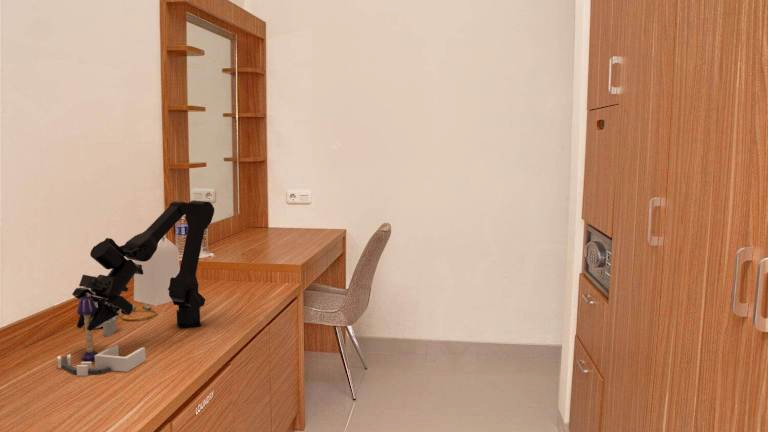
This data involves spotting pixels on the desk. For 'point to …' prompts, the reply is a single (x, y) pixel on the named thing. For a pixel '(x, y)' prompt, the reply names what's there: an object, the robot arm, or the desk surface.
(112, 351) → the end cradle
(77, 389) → the desk surface
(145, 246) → the robot arm
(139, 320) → the extension cord
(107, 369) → the cable run
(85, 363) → the clip
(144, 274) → the milk
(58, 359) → the clip
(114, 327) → the lighter
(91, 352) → the toy lamp
